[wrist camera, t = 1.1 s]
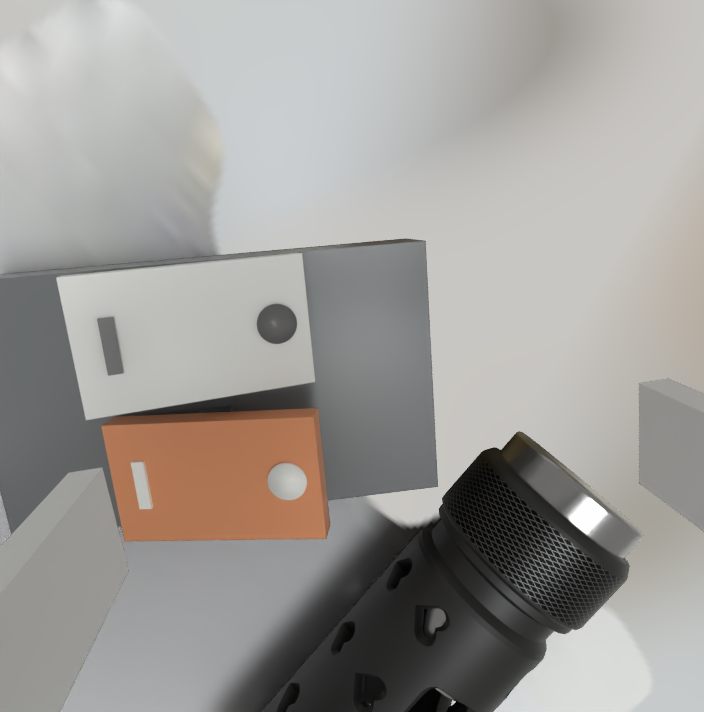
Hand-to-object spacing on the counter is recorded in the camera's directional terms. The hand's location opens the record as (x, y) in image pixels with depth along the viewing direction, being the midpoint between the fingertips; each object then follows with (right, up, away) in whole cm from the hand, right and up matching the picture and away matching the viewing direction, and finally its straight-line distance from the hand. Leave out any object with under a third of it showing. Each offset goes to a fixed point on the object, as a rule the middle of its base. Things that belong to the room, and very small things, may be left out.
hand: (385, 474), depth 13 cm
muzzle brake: (+2, -13, +24) cm, 27 cm away
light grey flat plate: (-8, +4, +11) cm, 14 cm away
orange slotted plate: (-7, -3, +13) cm, 15 cm away
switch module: (-11, +2, +18) cm, 22 cm away
